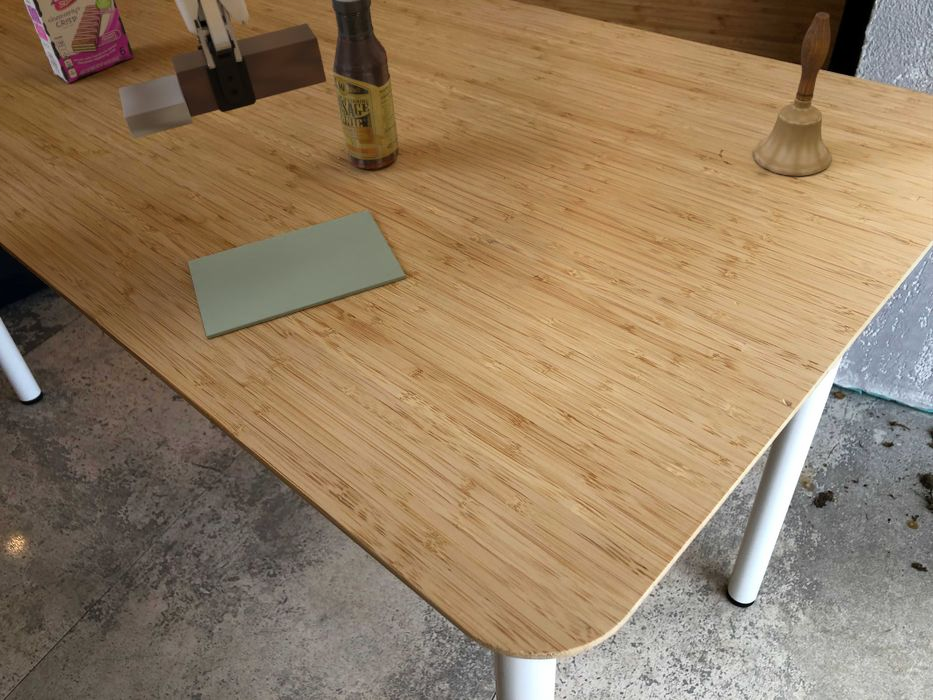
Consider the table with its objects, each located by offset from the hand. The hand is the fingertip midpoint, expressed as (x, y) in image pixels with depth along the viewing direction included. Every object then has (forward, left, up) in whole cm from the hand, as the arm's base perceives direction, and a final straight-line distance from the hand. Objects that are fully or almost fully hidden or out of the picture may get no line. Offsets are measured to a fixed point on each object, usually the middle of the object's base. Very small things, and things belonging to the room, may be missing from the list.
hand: (232, 94), depth 74 cm
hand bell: (+57, -6, -20) cm, 61 cm away
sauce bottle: (+15, +17, -20) cm, 30 cm away
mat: (+1, 0, -20) cm, 20 cm away
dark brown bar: (-1, 0, 0) cm, 1 cm away
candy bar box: (-15, +64, -20) cm, 68 cm away
